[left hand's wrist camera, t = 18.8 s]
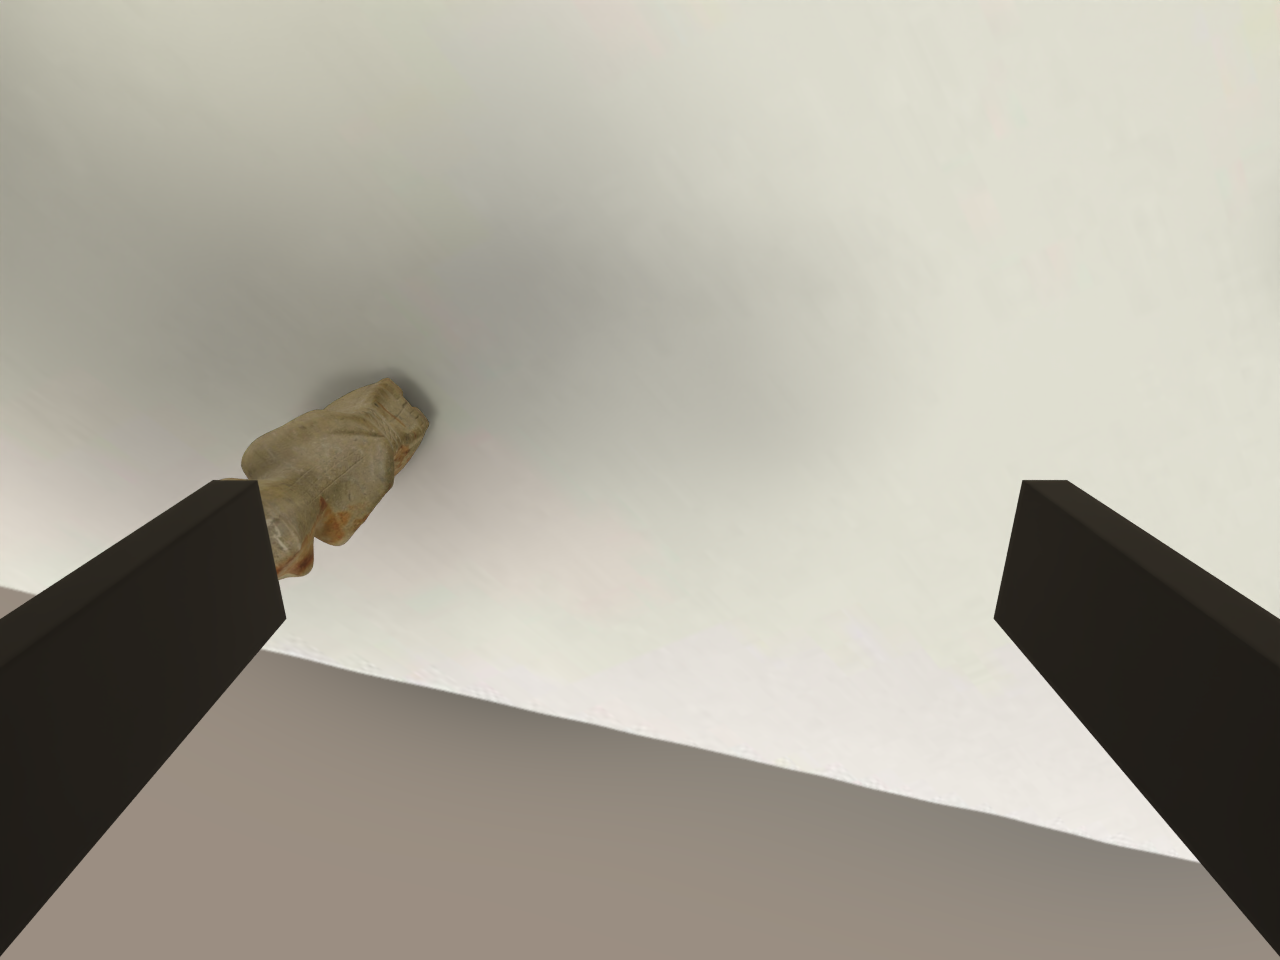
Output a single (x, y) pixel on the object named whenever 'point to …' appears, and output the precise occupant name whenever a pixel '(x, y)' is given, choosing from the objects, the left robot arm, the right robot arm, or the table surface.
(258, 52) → the table surface
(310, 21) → the table surface
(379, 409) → the sculpture
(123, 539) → the left robot arm
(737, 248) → the table surface
